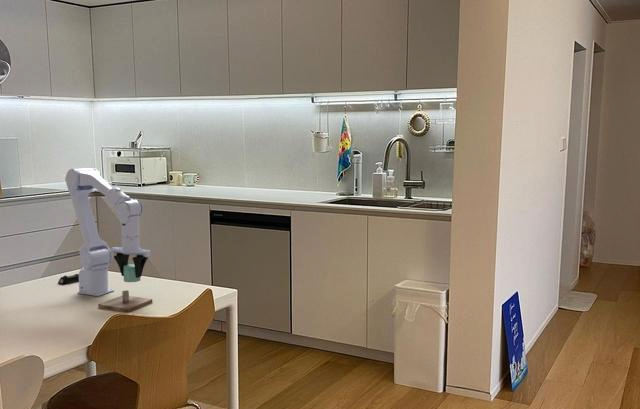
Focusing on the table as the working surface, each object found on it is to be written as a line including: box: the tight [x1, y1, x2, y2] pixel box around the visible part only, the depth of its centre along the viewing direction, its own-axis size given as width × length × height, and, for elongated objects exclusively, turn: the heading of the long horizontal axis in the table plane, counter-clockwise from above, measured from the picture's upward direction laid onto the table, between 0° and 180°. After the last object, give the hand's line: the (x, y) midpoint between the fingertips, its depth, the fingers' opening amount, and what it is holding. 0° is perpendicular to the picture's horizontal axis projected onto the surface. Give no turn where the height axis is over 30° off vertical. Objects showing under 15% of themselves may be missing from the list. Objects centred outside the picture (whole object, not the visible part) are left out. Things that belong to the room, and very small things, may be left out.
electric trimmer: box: [57, 273, 79, 286], centre depth 229 cm, size 4×16×3 cm, turn 144°
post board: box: [97, 289, 153, 313], centre depth 198 cm, size 12×12×5 cm
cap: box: [123, 263, 141, 283], centre depth 202 cm, size 5×5×5 cm
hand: (131, 276), depth 202 cm, fingers closed on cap, 5 cm apart
